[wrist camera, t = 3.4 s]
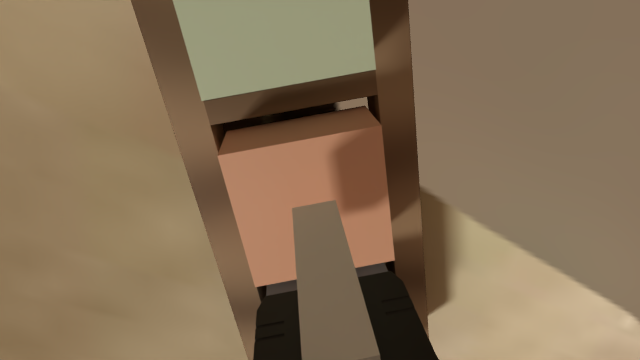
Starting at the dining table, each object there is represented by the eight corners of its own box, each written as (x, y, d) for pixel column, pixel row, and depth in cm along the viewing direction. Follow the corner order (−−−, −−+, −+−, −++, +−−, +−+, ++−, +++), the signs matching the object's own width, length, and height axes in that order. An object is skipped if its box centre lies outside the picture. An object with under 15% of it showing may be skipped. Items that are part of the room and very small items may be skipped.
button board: (416, 323, 25) (429, 355, 23) (259, 354, 25) (258, 389, 23) (379, -145, 15) (397, -171, 13) (119, -102, 15) (91, -120, 13)
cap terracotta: (258, 247, 20) (255, 287, 17) (226, 130, 17) (217, 155, 14) (378, 224, 20) (394, 260, 17) (364, 105, 17) (381, 125, 14)
